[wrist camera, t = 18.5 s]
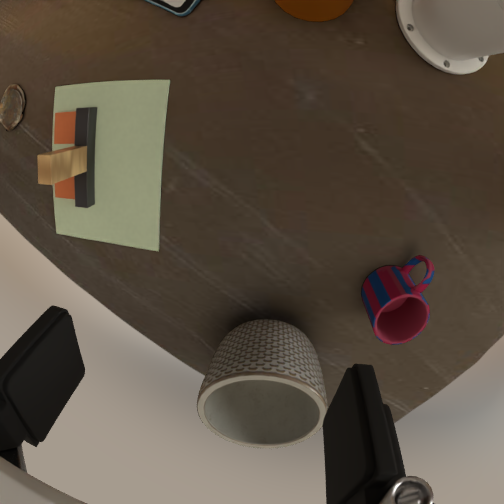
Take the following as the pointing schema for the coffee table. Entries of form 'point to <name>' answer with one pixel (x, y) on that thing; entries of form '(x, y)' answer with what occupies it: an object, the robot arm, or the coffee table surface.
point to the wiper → (74, 160)
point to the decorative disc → (12, 107)
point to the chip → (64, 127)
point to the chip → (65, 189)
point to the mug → (315, 8)
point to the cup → (397, 302)
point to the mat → (119, 162)
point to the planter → (264, 387)
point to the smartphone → (176, 6)
